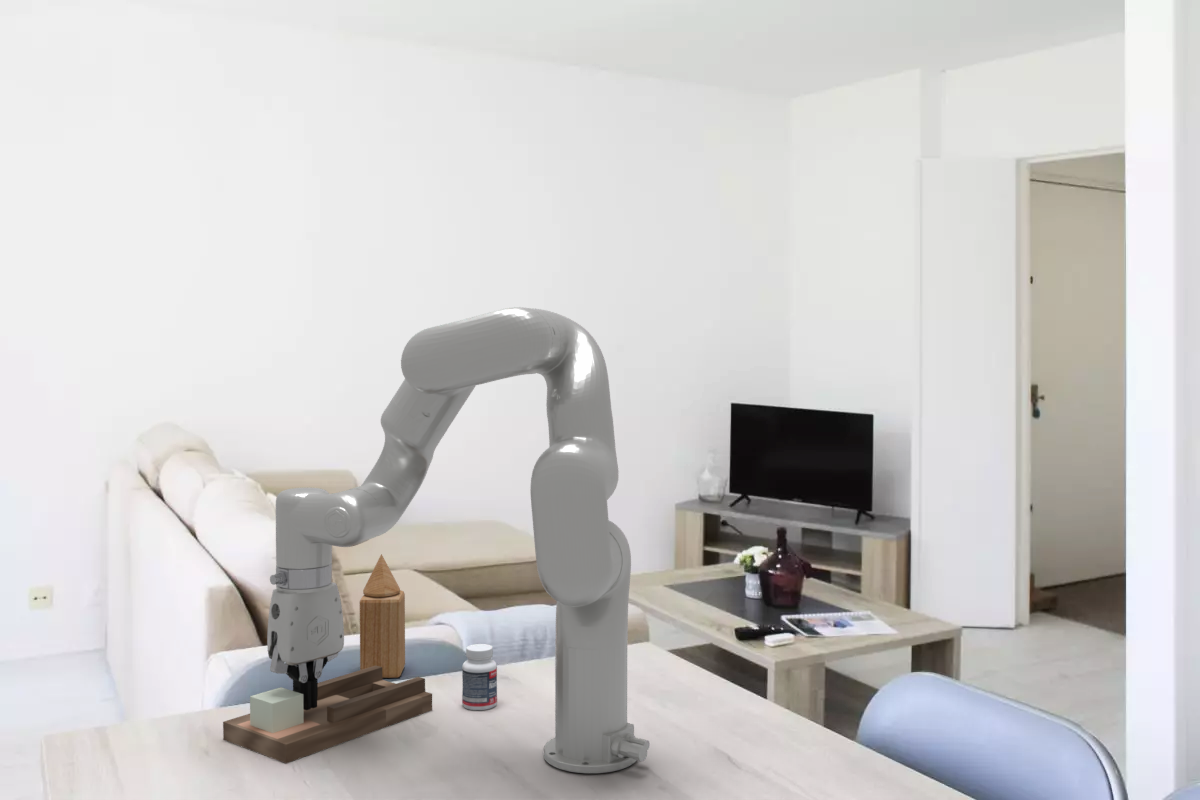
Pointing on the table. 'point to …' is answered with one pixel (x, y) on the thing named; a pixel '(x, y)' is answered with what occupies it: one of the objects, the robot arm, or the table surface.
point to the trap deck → (336, 715)
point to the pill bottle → (479, 678)
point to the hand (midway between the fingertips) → (305, 706)
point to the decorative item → (382, 623)
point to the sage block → (276, 710)
